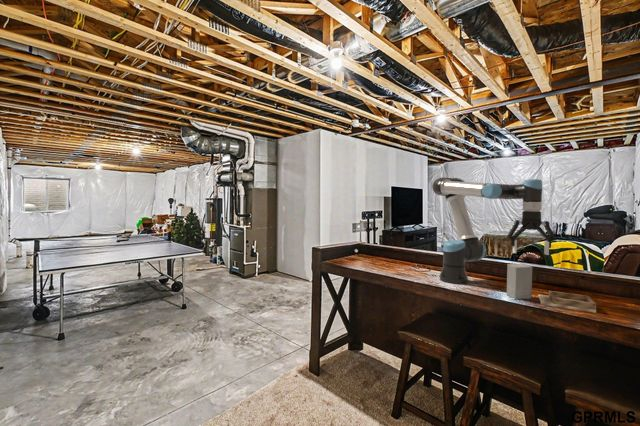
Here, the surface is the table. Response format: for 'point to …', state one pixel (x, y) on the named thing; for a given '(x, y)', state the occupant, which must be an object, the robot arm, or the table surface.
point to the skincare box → (519, 281)
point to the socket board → (568, 301)
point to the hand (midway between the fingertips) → (530, 253)
